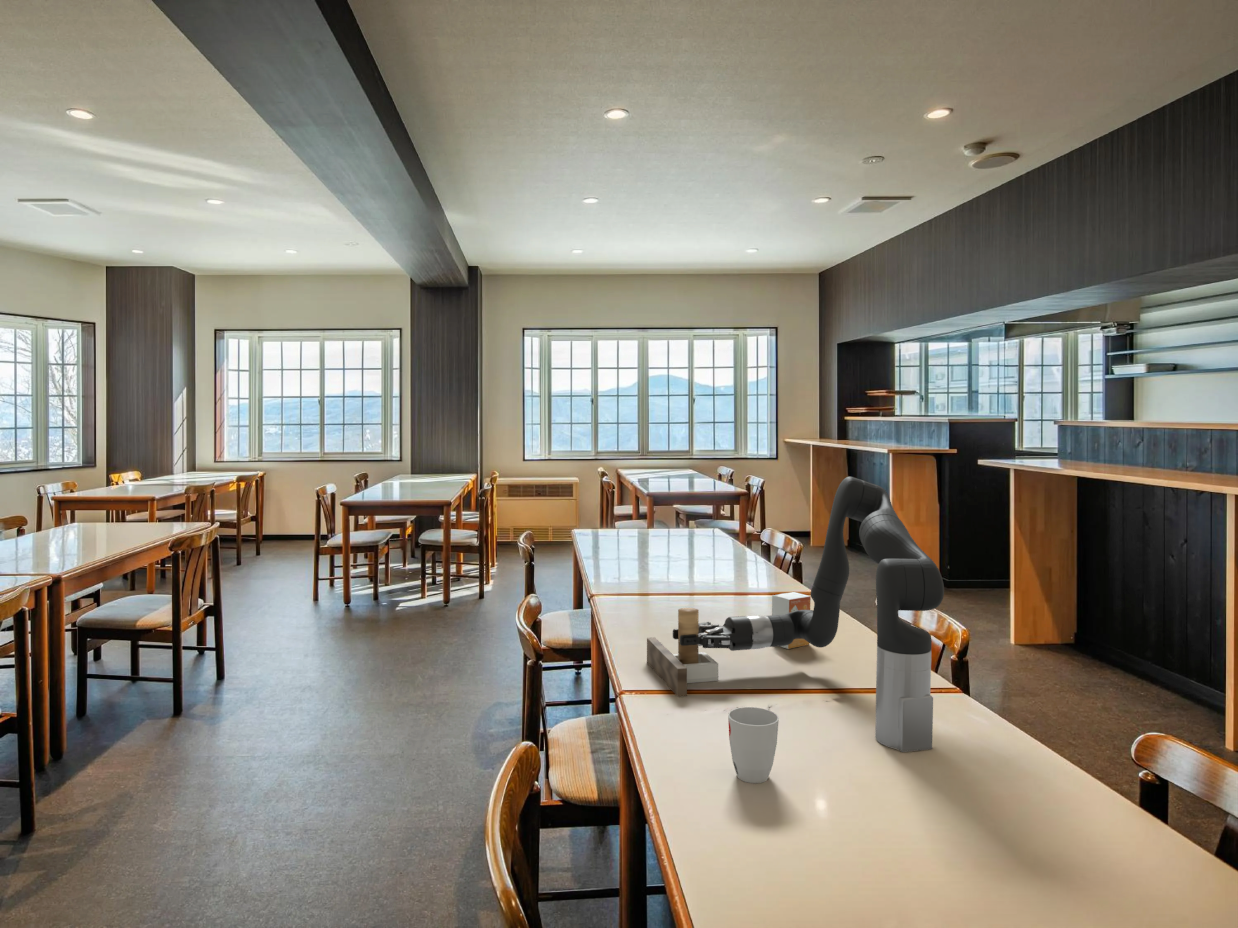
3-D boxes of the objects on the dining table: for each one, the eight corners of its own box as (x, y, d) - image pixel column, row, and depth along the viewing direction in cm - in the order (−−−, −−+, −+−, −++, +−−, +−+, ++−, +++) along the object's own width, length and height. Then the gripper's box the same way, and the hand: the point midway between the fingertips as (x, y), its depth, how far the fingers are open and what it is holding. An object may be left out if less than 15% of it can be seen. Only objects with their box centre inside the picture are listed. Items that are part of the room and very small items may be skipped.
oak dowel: (701, 674, 171) (701, 611, 170) (681, 675, 170) (681, 613, 169) (694, 668, 175) (694, 607, 175) (675, 669, 174) (675, 608, 174)
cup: (743, 760, 132) (744, 703, 131) (786, 774, 126) (787, 714, 126) (718, 777, 125) (718, 717, 125) (762, 792, 120) (763, 729, 120)
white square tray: (718, 680, 169) (718, 663, 169) (679, 683, 167) (679, 666, 167) (704, 668, 178) (704, 651, 178) (667, 670, 176) (667, 654, 176)
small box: (788, 649, 197) (789, 599, 197) (770, 643, 203) (771, 594, 202) (810, 644, 202) (811, 595, 201) (792, 639, 207) (793, 591, 206)
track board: (766, 694, 164) (766, 662, 164) (676, 702, 159) (676, 668, 159) (725, 661, 187) (725, 632, 187) (645, 666, 183) (645, 637, 182)
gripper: (736, 608, 182) (667, 613, 178) (761, 623, 168) (686, 628, 164) (736, 640, 183) (667, 645, 179) (761, 657, 169) (686, 663, 165)
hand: (676, 637), depth 171 cm, fingers open, 4 cm apart
